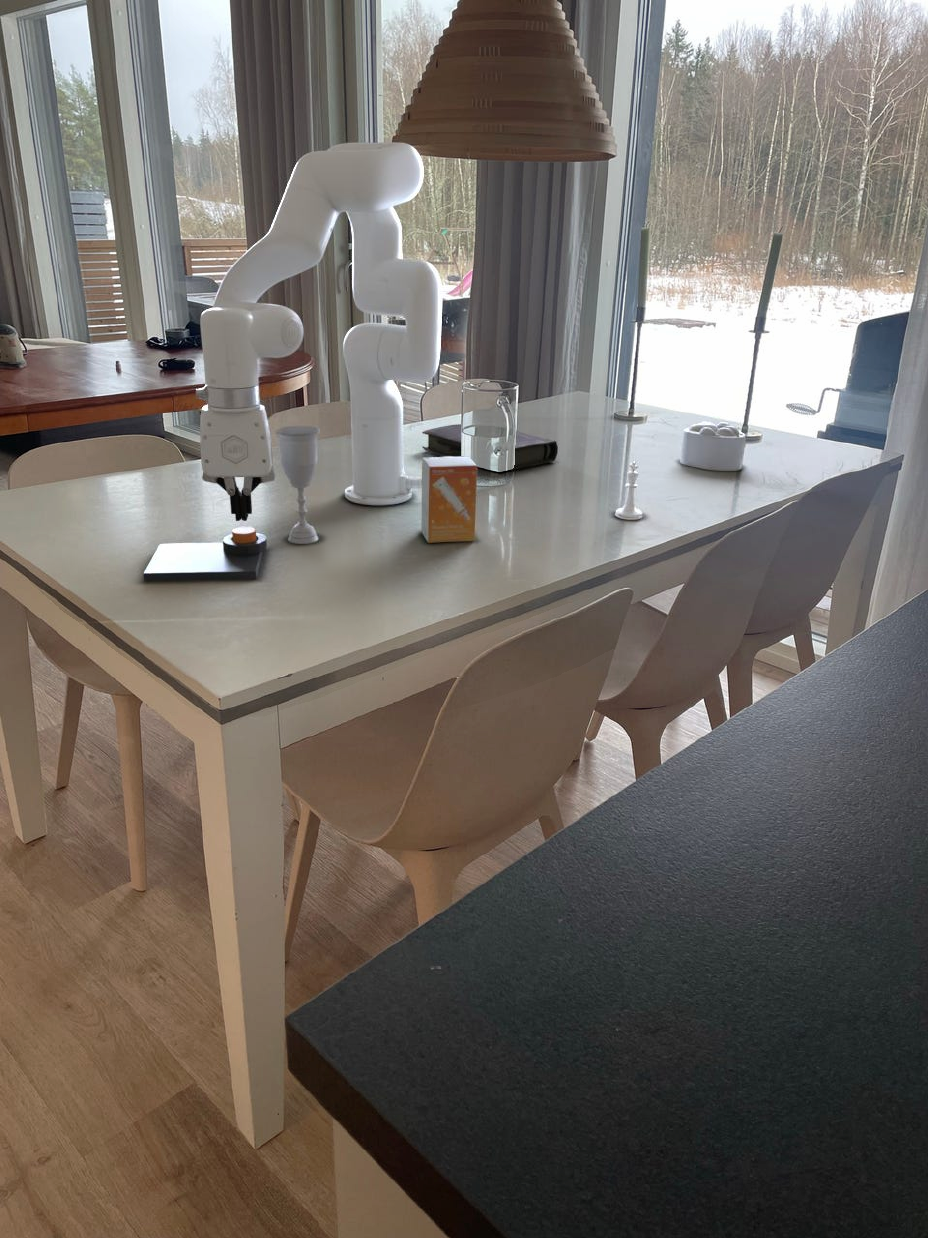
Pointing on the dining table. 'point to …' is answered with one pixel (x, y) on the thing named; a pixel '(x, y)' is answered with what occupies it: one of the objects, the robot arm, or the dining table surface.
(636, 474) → the chess piece
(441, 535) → the small box
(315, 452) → the chalice
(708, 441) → the lumpy-topped squat cylinder
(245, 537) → the power button
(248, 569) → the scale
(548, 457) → the diary
